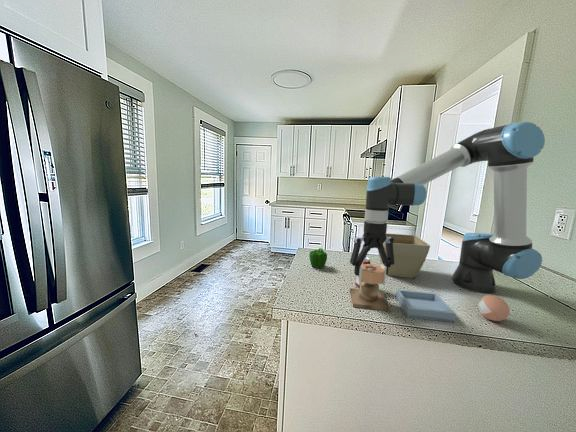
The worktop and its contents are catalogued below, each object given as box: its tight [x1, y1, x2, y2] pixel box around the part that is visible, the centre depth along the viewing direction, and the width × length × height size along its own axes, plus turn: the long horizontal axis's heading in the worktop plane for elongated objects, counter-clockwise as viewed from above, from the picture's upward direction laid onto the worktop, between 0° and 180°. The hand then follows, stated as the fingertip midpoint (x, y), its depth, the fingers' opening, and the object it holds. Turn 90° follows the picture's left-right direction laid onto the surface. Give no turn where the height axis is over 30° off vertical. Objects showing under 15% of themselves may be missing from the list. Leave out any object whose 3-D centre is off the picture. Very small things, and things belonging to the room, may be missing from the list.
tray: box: [395, 288, 456, 323], centre depth 85 cm, size 14×14×3 cm
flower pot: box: [377, 232, 431, 279], centre depth 116 cm, size 19×19×17 cm
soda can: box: [354, 256, 371, 289], centre depth 100 cm, size 5×5×12 cm
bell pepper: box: [309, 247, 328, 269], centre depth 120 cm, size 8×8×10 cm
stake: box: [349, 268, 390, 312], centre depth 88 cm, size 12×12×12 cm
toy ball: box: [478, 294, 510, 322], centre depth 79 cm, size 8×8×8 cm
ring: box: [361, 263, 385, 285], centre depth 87 cm, size 8×8×4 cm
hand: (370, 283), depth 88 cm, fingers closed on ring, 8 cm apart
